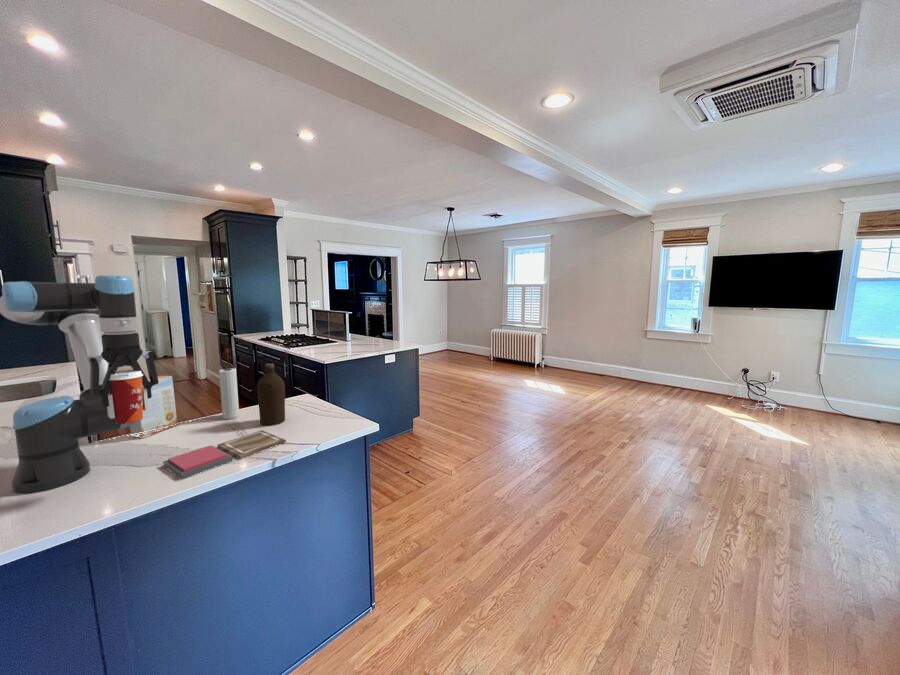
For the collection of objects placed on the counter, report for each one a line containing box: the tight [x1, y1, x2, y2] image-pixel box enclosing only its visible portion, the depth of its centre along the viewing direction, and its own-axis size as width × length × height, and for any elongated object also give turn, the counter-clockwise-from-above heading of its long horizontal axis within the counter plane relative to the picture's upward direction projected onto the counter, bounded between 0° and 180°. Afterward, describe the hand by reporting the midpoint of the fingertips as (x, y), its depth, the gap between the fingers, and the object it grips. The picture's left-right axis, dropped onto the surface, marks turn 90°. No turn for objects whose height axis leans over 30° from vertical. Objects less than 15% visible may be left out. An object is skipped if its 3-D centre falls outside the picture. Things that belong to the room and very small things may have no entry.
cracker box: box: [129, 375, 178, 437], centre depth 139 cm, size 14×6×21 cm, turn 168°
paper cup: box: [109, 369, 143, 424], centre depth 100 cm, size 8×8×14 cm
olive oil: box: [256, 362, 286, 427], centre depth 149 cm, size 11×11×25 cm
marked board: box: [217, 429, 287, 460], centre depth 128 cm, size 16×16×1 cm
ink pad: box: [162, 445, 234, 480], centre depth 114 cm, size 14×14×2 cm
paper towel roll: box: [218, 367, 240, 420], centre depth 155 cm, size 7×6×21 cm
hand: (129, 413), depth 100 cm, fingers closed on paper cup, 7 cm apart
